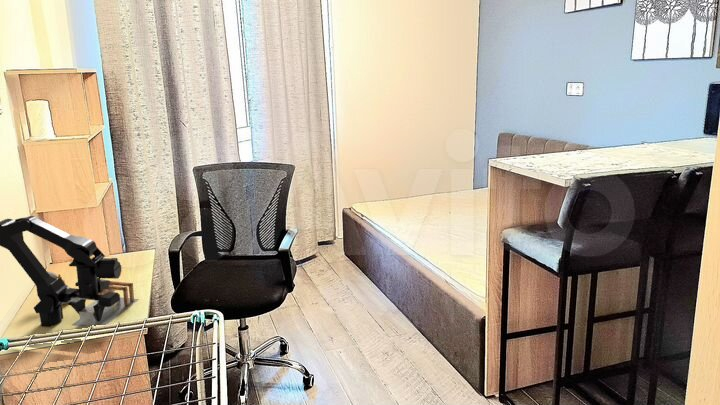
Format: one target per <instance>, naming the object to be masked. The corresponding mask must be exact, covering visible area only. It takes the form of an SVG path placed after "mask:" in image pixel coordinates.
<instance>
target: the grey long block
mask: <svg viewBox="0 0 720 405" xmlns="http://www.w3.org/2000/svg"><path fill="white" fill-rule="evenodd" d="M118 294H119V295H120V296H121V294H120V293H118ZM96 304H97V301H96V300H93V302H91V303H90V304H88V305H86V306H85V308H84V309H82V310H81V311H79V314H78V315H79V319H80V324H81V325H83V326H82V327H84V326H92V325H94V326H96V325H97V324H99V323H100V322H101V321H103V320H104V319H105V318H107V317H108V316H109V315H111V314H112V313H113V312H115V311H116V310H117V309H119V308H120V307H121V303H120V300H119V301H118V302H116V303H115V304H114V305H112V306H111V307H105V308H104V311H103V315H102V318H101V321H99V322H98V321H97V318H96V315H95V311H94V308H93V306H94V305H96Z"/></svg>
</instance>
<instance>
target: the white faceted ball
mask: <svg viewBox="0 0 720 405" xmlns="http://www.w3.org/2000/svg"><path fill="white" fill-rule="evenodd" d="M47 272H48V274H49V275H50V276H51V277H53V278H55V279H58V278H59V277H60V278H61V279H62V278H63V277H62V276H61V274H59V273H58V274H56V273H55V272H54V271H47ZM62 280H63V282H64V283H65V284H66V282H65V279H62ZM67 286H68V287H67V289H69V288H71V287H70V286H69V285H67ZM69 302H70V301H68V302H67V303H65V302H63V303H61V306H64V305H67V304H68V303H69Z"/></svg>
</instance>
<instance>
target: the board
mask: <svg viewBox="0 0 720 405" xmlns="http://www.w3.org/2000/svg"><path fill="white" fill-rule="evenodd" d="M128 300H129V306H125V305H124V297H122V296H120V303H121V307H120V308H119V309H117V310H116V311H115V312H113V313H112V314H111V315H109V316H108V317H107V318H105V319H104V320H103V321H101V322H100V323H99V324H97V325H106V324H107V325H108V324H109V323H111V322H112V321H113V320H115V319H116V318H117V317H119V316H120V315H121V314H122V313H124V312H125V311H126V310H128V309H129V308H130V307H132V306H133V305H134V304H135V303H137V302H138V301H140V299H139V298H134V302H130V297H128ZM107 325H106V326H107ZM71 326H76V327H86V328H88V327H87V326H83V325H81V324H80V318H79V319H78V320H76V321H75V322H74V323H72V324H71Z"/></svg>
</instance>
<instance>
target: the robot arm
mask: <svg viewBox="0 0 720 405" xmlns="http://www.w3.org/2000/svg"><path fill="white" fill-rule="evenodd" d="M24 232H29V233H30V234H33V235H35V236H37V237H39V238H41V239H43V240H45V241H48V242H49V243H51V244H54V245H56V246H57V247H59V248H61V249H62V250H64V252H65V253H66V254H67V256H69V257H71V258H72V259H73V260H71V262H70V263H69V264H68V266H69V267H75V268H76V275H77V276H76V277H77V282H75V288H74V287H73V288H72V287H70V288H69V289H67V287H68V286H69V285H67V284H66V282H65V283H64V282H63V280H64V279H61V278H60V277H59V278H57V279H55V278H53V277H51V276H50V275H49V274H48V272H49V271H47V270H46V268H45V266H43V264H42V262H40V261H39V259H38V258H37V257H36V255H35V254H34V253H33V251H32V250H31V249H30V247H29V246H28V245H27V243H26V242H25V239H24ZM0 247H1V248H4V249H6V250H8V251H9V252H10V253H11V255H12V256H13V257H14V259H15V261H17V263H18V264H19V265H20V266H21V268H22V269H23V270H24V272H25V273H26V274H27V276H28V277H29V278H30V279H31V281H32V282H33V283H34V285H35V287H36V295H37V296H38V298H39V300H40V301H39V302H37V304H36V305H34V307H33V310H34V312H35V313H36V314H39V320H40V325H41V326H40V327H44V328H45V327H46V328H51V327H53V326H57V325H59V324H61V323H62V321H63V319H64V314H63V307H62V305H61V303H63V302H65V303H67V302H68V301H70V302H69V303H67V304H68V306H71V307H72V308H73V310H74V311H75V312H76V313H77V314H78V315H79V311H81V310H82V309H84V308H85V307H86V303H87V302H86V301H97V304H96V305H94V306H93V308H94V311H95V315H96V318H97V321H98V322H99V321H101V318H102V315H103V311H104V308H105V307H111V306H112V305H114V304H115V303H116V302H118V301H119V300H120V297H121V294H120V293H118V292H115V291H114V292H107V293H106V294H104V295H99V293H101V292H103V290H104V289H107V290H108V289H109V282H110V281H111V280H112V279H119V278H120V277H121V274H122V265H121V263H120V261H119V260H118V257H112V258H109V257H108V258H105V257H106V255H105V254H104V253H103V252H102V251H101V250H100V248H98V247H97V243H96V242H95V241H94V240H92V239H90V238H87V237H83V236H77V235H73V234H70V233H67V232H66V231H63V230H61V229H60V228H58V227H55V226H54V225H52V224H49V223H47V222H46V221H44V220H41V219H40V218H38V216H36V215H29V216H26V217H20V218H16V219H12V218H5V219H3V220H1V221H0ZM92 256H93V257H92ZM91 257H92V258H91ZM101 279H103V280H101ZM109 279H111V280H109ZM76 287H78V288H76ZM119 294H120V295H119Z"/></svg>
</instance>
